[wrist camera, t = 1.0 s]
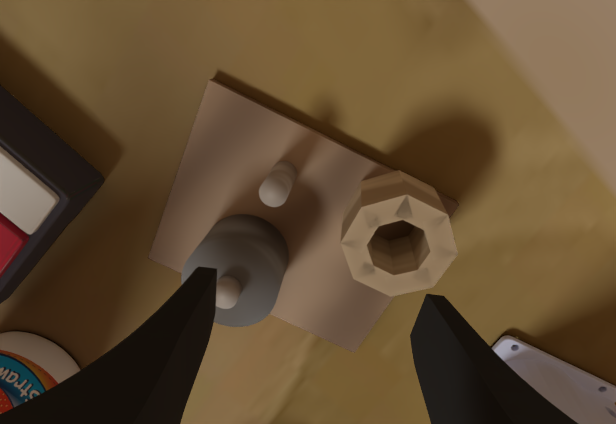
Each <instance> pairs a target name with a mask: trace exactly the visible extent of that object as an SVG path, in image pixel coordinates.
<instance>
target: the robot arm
mask: <svg viewBox="0 0 616 424" xmlns="http://www.w3.org/2000/svg"><path fill="white" fill-rule="evenodd" d="M216 287H217V269H216V268H208V267H200V266H199V267H197V268H196V269H195V270H194V271H193V272H192V274H191V275H190V276H189V277H188V279H187V280H186V281H185V282H184V283H183V284H182V285H181V287H180V288H179V289H178V290H177V291H176V292H175V293H174V294H173V295H172V296H171V297H170V298H169V299H168V300H167V301H166V302H165V303H164V304H163V305H162V306H161V307H160V308H159V309H158V310H157V311H156V312H155V313H154V314H153V315H152V316H151V317H150V318H149V319H148V320H146V321H145V322H144V323H143V324H142V325H141V326H140V327H139V328H138V329H136V330H135V331H134V332H133V333H132V334H130V335H129V336H128V337H127V338H125V339H124V340H123V341H122V342H120V343H119V344H118V345H116V346H115V347H114V348H113V349H111V350H110V351H108V352H107V353H105V354H104V355H103V356H101V357H100V358H98V359H97V360H96V361H94V362H93V363H91V364H90V365H88V366H87V367H85V368H84V369H82V370H81V371H79V372H77V373H76V374H74V375H72V376H71V377H69V378H67V379H66V380H64V381H62V382H61V383H59V384H57V385H56V386H54V387H52V388H50V389H49V390H47V391H45V392H43V393H42V394H40V395H38V396H36V397H34V398H32V399H30V400H28V401H26V402H24V403H22V404H20V405H18V406H16V407H14V408H12V409H10V410H8V411H6V412H4V413H2V414H0V424H180V423H181V419H182V415H183V412H184V409H185V406H186V403H187V400H188V397H189V395H190V392H191V389H192V386H193V384H194V381H195V378H196V376H197V373H198V370H199V367H200V365H201V362H202V359H203V356H204V353H205V351H206V348H207V345H208V342H209V338H210V334H211V330H212V326H213V322H214V318H215V312H216ZM410 338H411V346H412V353H413V359H414V364H415V368H416V372H417V375H418V379H419V383H420V386H421V390H422V393H423V396H424V400H425V403H426V407H427V410H428V414H429V417H430V421H431V424H616V405H615V404H614V403H615V402H616V386H615V385H613V384H610V383H608V382H606V381H604V380H602V379H600V378H598V377H596V376H594V375H592V374H590V373H587V372H585V371H583V370H581V369H579V368H577V367H575V366H573V365H571V364H569V363H567V362H564V361H562V360H560V359H558V358H556V357H554V356H552V355H550V354H548V353H546V352H543V351H541V350H539V349H537V348H535V347H533V346H531V345H529V344H527V343H525V342H523V341H520V340H518V339H516V338H514V337H512V336H509V335H507V336H503V337H501V338H500V339H499V340H498V342H497V343H496V344H495V345H494V346H493V347H492V348H491V347H490V346H489V345H488V344H487V343H486V342H485V341H484V340H483V339H482V338H481V337H480V336H479V335H478V334H477V332H476V331H475V330H474V329H473V328H472V327H471V326H470V325H469V324H468V322H467V321H466V320H465V319H464V318H463V317H462V316H461V314H460V313H459V312H458V311H457V310H456V309H455V308H454V307H453V305H452V304H451V303H450V302H449V301H448V300H447V299H446V298H445V297H444V296H440V295H432V294H426V297H425V299H424V302H423V304H422V307H421V309H420V312H419V314H418V317H417V319H416V322H415V325H414V327H413V330H412V332H411V335H410ZM513 345H516V346H514V347H511V346H513Z"/></svg>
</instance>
